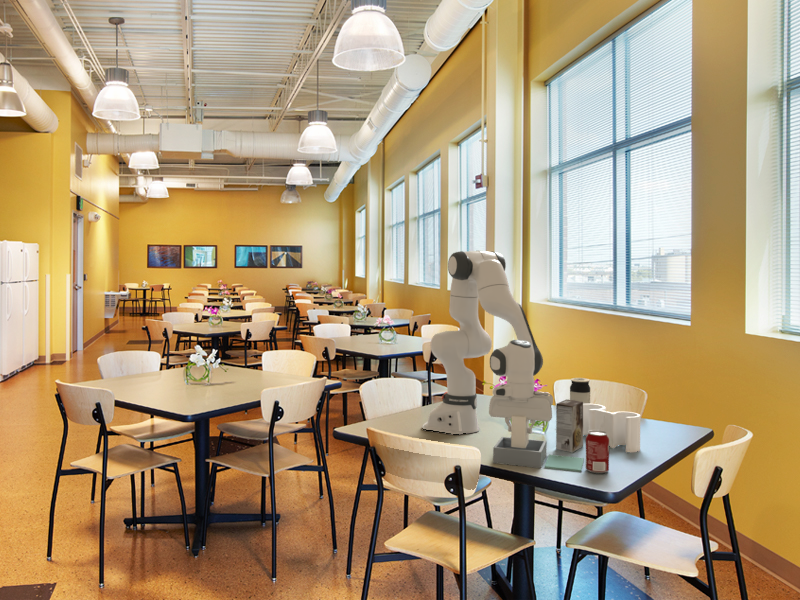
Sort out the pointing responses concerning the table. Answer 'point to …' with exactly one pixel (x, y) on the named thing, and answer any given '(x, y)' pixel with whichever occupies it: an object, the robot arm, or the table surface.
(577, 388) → the travel mug
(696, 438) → the table surface
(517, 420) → the label box
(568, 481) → the table surface
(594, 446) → the soda can
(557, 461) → the mat
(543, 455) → the parts bin
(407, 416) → the table surface
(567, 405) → the coffee box
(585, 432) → the bracket
